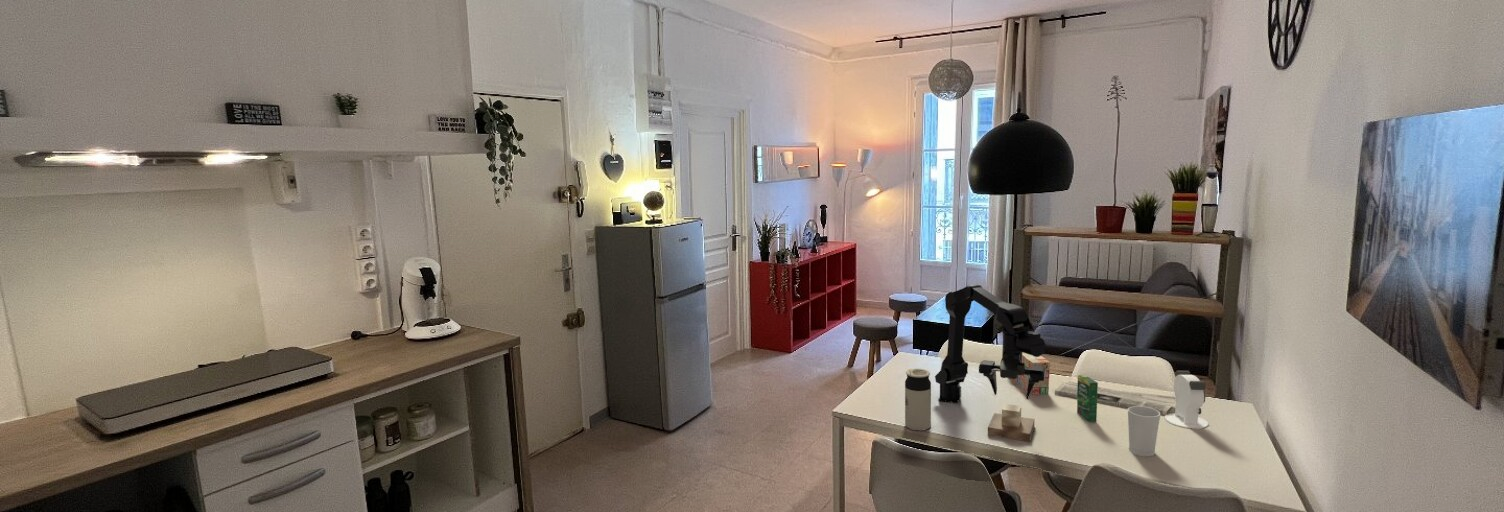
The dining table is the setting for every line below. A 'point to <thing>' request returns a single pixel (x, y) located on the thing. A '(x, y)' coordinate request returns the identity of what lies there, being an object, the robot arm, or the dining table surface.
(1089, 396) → the coffee box
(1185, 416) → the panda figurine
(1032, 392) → the stack of blocks
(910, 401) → the travel mug
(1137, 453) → the cup
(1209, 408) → the dining table surface
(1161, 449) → the dining table surface
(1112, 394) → the newspaper
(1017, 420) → the maple cube
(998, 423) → the walnut base slab
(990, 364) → the robot arm
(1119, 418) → the dining table surface
